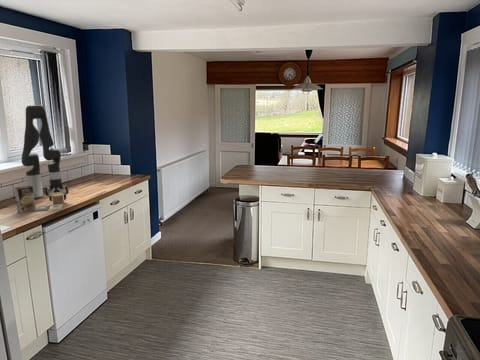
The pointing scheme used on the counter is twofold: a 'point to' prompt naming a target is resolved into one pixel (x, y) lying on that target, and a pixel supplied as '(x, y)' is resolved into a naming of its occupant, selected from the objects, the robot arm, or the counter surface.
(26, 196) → the coffee box
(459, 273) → the counter surface
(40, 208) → the pad
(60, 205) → the pad
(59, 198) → the block
